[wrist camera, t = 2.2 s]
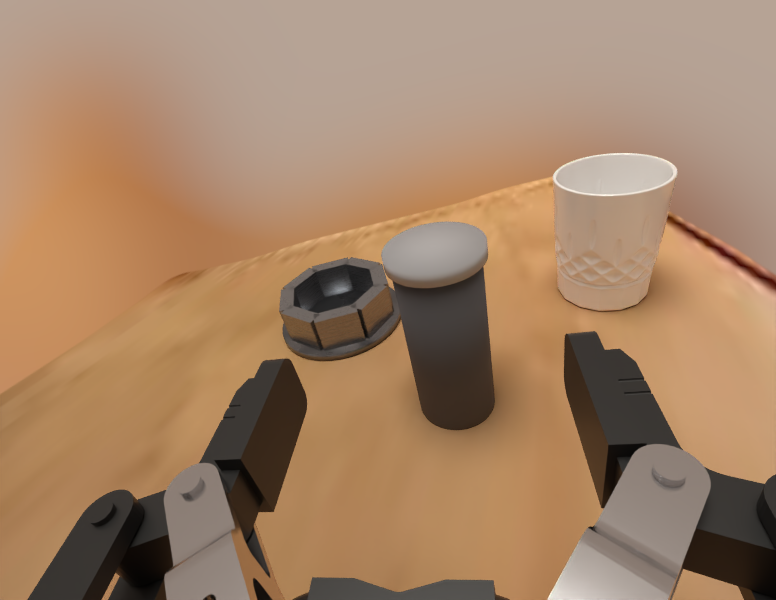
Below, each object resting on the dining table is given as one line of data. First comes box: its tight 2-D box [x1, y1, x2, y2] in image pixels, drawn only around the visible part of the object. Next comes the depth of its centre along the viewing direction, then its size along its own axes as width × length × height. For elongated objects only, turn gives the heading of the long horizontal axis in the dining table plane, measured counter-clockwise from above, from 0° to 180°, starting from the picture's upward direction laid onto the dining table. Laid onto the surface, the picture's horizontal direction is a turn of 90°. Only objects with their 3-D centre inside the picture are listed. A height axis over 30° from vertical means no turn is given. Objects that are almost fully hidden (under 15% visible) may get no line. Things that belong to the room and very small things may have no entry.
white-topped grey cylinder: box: [381, 222, 495, 430], centre depth 27 cm, size 6×6×12 cm
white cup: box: [553, 153, 677, 311], centre depth 34 cm, size 8×8×10 cm
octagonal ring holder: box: [279, 257, 401, 361], centre depth 39 cm, size 11×11×4 cm
